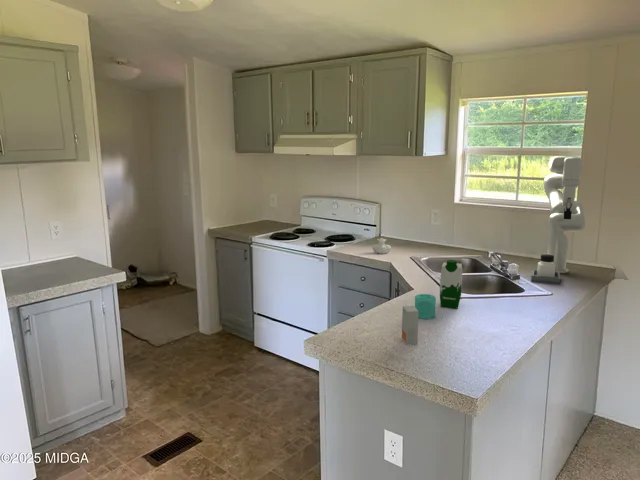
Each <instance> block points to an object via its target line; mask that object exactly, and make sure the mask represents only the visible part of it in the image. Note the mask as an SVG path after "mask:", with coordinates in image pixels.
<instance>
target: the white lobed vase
mask: <svg viewBox="0 0 640 480" xmlns="http://www.w3.org/2000/svg"><path fill="white" fill-rule="evenodd" d="M376 240H377V242H378V243H377V244H373V245H372V250H373V252H374V253H377V254H379V255H383V254H389V253H390V252H391V249H392V246H391V245H390V244H386V242H387V238H384V237H380V238H377V239H376Z"/></svg>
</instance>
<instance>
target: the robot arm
mask: <svg viewBox="0 0 640 480" xmlns="http://www.w3.org/2000/svg"><path fill="white" fill-rule="evenodd" d="M548 165H549V166H548V168H549V171H550V173H552V174H548V175H547V176H545V178H544V179H543V189H544V193H545V195H546V197H547V198H548V203H549V211H550V215H549V216H548V242H547V253H546V254H551V255H553V256H554V262H553V264H554V265H555V266H556V268H555V272H560V274H566V273H569V269H568V268H567V267H566V265H567V255H568V247H569V246H568V245H569V239H568V236H567V235H566V233H564V232H574V233H575V232H577V233H578V232H582V231H584V229H585V227H586V218H585V212H584V207H583V204H582V202H580V201H579V200H575V198H576V190H577V188H579V187H580V180H581V176H582V173H583V168H584V167H583V165H584V164H583V160H582V158H581V157H579V156H553V157H551V158H550V160H549V164H548ZM561 190H562V191H561Z"/></svg>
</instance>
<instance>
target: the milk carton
mask: <svg viewBox="0 0 640 480" xmlns="http://www.w3.org/2000/svg"><path fill="white" fill-rule="evenodd" d="M439 279H440V280H439V303H440V308H446V309H456V310H458V308H459V304H460V300H461V298H462V297H461V296H462V288H463V287H462V285H463V266H462V263H458V262H457V260H454V259H449V260H446V261H445V262H443V263H442V265H441V269H440V278H439Z"/></svg>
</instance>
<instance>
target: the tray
mask: <svg viewBox="0 0 640 480" xmlns="http://www.w3.org/2000/svg"><path fill="white" fill-rule="evenodd" d="M530 279H531V280H530V281H531V282H535V283H544V284H553V285H554V284H555V285H560V284H561V273H560V272H555V277H547V276H537V269H532V271H531V277H530Z"/></svg>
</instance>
